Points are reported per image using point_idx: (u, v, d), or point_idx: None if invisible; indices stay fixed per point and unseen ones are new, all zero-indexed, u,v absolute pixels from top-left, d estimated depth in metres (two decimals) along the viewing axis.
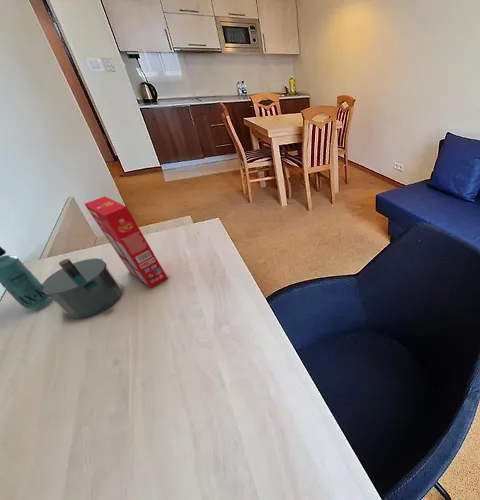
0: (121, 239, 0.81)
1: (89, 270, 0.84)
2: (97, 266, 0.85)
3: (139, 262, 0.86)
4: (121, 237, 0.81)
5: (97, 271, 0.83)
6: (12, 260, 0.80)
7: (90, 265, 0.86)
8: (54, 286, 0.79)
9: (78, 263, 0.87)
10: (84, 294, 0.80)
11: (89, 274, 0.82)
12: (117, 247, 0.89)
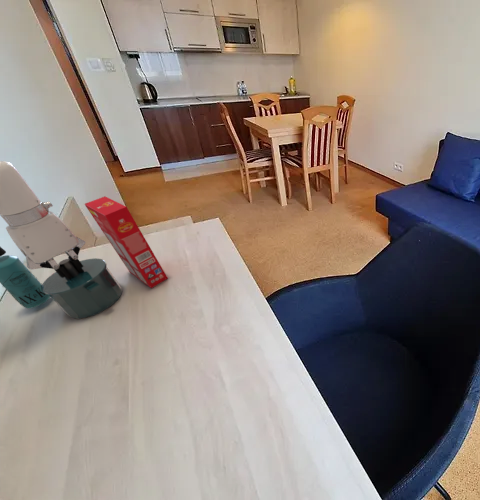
0: (121, 239, 0.81)
1: (89, 270, 0.84)
2: (97, 266, 0.85)
3: (139, 262, 0.86)
4: (121, 237, 0.81)
5: (97, 271, 0.83)
6: (12, 260, 0.80)
7: (90, 265, 0.86)
8: (54, 286, 0.79)
9: None
10: (84, 294, 0.80)
11: (89, 274, 0.82)
12: (117, 247, 0.89)
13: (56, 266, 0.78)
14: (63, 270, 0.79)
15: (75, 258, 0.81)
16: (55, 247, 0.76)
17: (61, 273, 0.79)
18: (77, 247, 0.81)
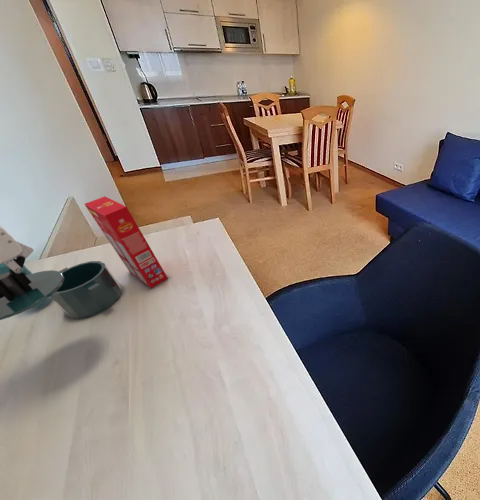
0: (121, 239, 0.81)
1: (39, 287, 0.63)
2: (50, 281, 0.64)
3: (139, 262, 0.86)
4: (121, 237, 0.81)
5: (49, 288, 0.62)
6: None
7: (42, 280, 0.65)
8: None
9: (27, 277, 0.66)
10: (84, 294, 0.80)
11: (38, 293, 0.61)
12: (117, 247, 0.89)
13: None
14: (0, 288, 0.58)
15: (18, 271, 0.60)
16: None
17: None
18: (21, 257, 0.60)
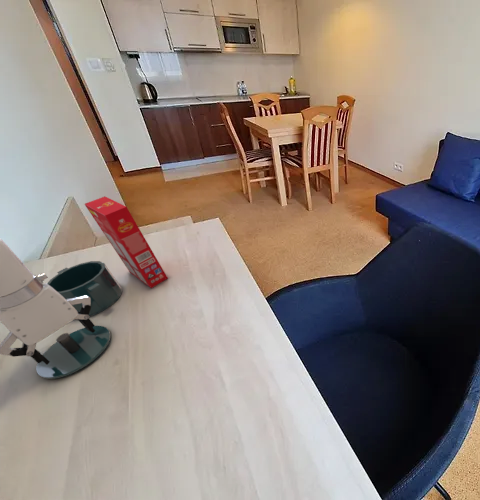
0: (121, 239, 0.81)
1: (91, 343, 0.73)
2: (100, 338, 0.75)
3: (139, 262, 0.86)
4: (121, 237, 0.81)
5: (100, 345, 0.73)
6: None
7: (92, 336, 0.75)
8: (51, 366, 0.69)
9: (78, 332, 0.77)
10: (84, 294, 0.80)
11: (91, 350, 0.72)
12: (117, 247, 0.89)
13: (30, 352, 0.65)
14: (39, 355, 0.66)
15: (86, 318, 0.72)
16: (51, 324, 0.66)
17: (37, 358, 0.66)
18: (86, 306, 0.72)
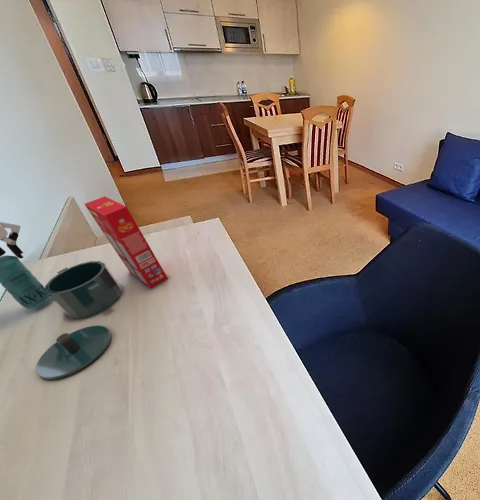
0: (121, 239, 0.81)
1: (91, 343, 0.73)
2: (100, 338, 0.75)
3: (139, 262, 0.86)
4: (121, 237, 0.81)
5: (100, 345, 0.73)
6: (12, 260, 0.80)
7: (92, 336, 0.75)
8: (51, 366, 0.69)
9: (78, 332, 0.77)
10: (84, 294, 0.80)
11: (91, 350, 0.72)
12: (117, 247, 0.89)
13: None
14: None
15: (13, 244, 0.81)
16: None
17: None
18: (14, 233, 0.81)
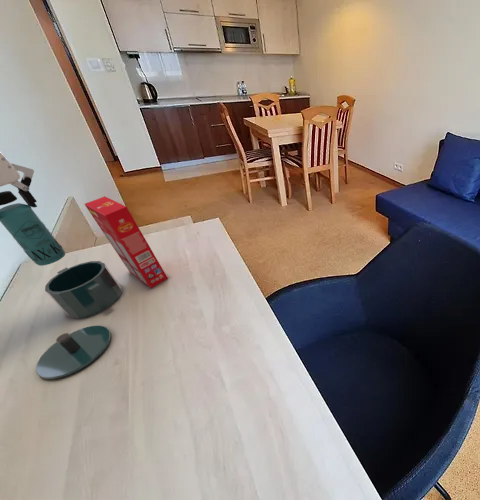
0: (121, 239, 0.81)
1: (91, 343, 0.73)
2: (100, 338, 0.75)
3: (139, 262, 0.86)
4: (121, 237, 0.81)
5: (100, 345, 0.73)
6: (24, 208, 0.71)
7: (92, 336, 0.75)
8: (51, 366, 0.69)
9: (78, 332, 0.77)
10: (84, 294, 0.80)
11: (91, 350, 0.72)
12: (117, 247, 0.89)
13: None
14: None
15: (26, 190, 0.72)
16: None
17: None
18: (27, 177, 0.72)
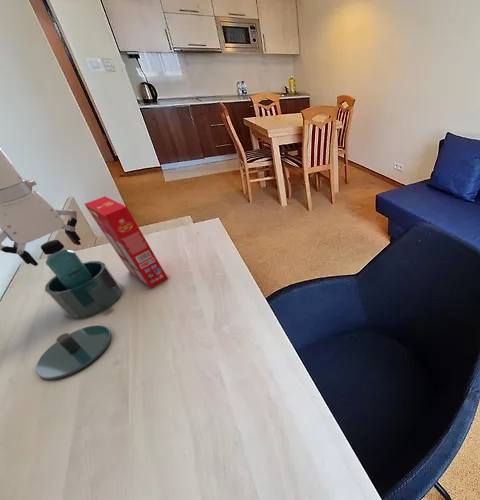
0: (121, 239, 0.81)
1: (91, 343, 0.73)
2: (100, 338, 0.75)
3: (139, 262, 0.86)
4: (121, 237, 0.81)
5: (100, 345, 0.73)
6: (70, 254, 0.79)
7: (92, 336, 0.75)
8: (51, 366, 0.69)
9: (78, 332, 0.77)
10: (84, 294, 0.80)
11: (91, 350, 0.72)
12: (117, 247, 0.89)
13: (20, 251, 0.71)
14: (28, 256, 0.73)
15: (72, 230, 0.79)
16: (39, 227, 0.73)
17: (26, 259, 0.73)
18: (73, 219, 0.79)
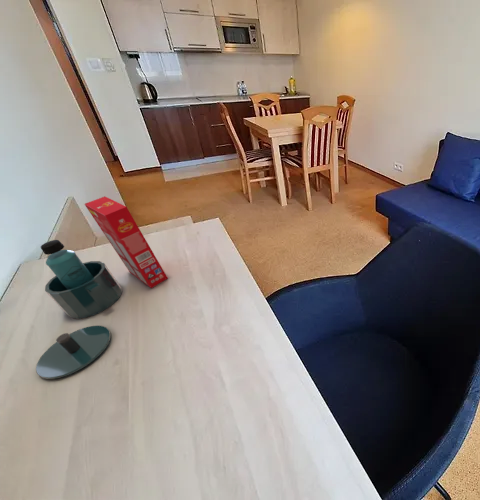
0: (121, 239, 0.81)
1: (91, 343, 0.73)
2: (100, 338, 0.75)
3: (139, 262, 0.86)
4: (121, 237, 0.81)
5: (100, 345, 0.73)
6: (70, 254, 0.79)
7: (92, 336, 0.75)
8: (51, 366, 0.69)
9: (78, 332, 0.77)
10: (84, 294, 0.80)
11: (91, 350, 0.72)
12: (117, 247, 0.89)
13: None
14: None
15: None
16: None
17: None
18: None
